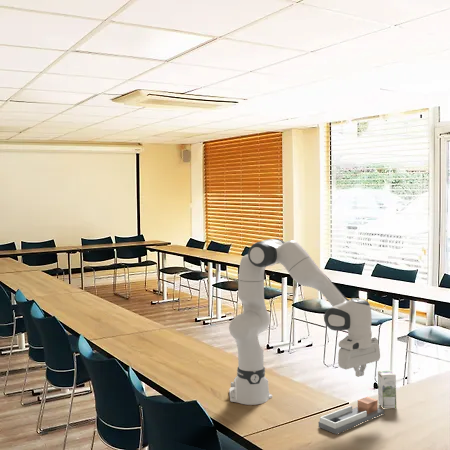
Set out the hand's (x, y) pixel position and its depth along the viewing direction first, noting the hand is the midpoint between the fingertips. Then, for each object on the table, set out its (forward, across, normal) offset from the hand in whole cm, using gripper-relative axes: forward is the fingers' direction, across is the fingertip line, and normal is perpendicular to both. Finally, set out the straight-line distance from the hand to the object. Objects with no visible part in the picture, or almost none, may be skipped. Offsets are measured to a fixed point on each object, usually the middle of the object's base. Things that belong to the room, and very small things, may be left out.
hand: (359, 375), depth 222 cm
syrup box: (+17, -17, 0) cm, 24 cm away
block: (+15, -5, 0) cm, 16 cm away
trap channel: (+17, +5, 0) cm, 17 cm away
